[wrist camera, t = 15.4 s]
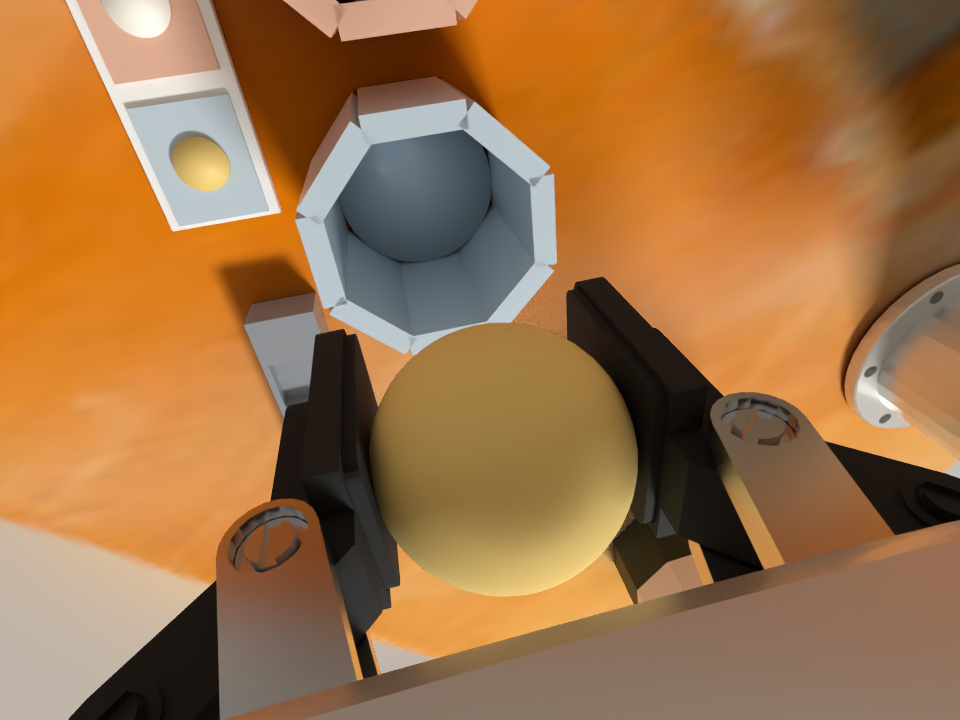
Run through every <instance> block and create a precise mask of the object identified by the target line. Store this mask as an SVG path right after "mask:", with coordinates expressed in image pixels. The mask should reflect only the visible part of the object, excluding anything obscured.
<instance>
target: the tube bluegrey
mask: <svg viewBox="0 0 960 720" xmlns="http://www.w3.org/2000/svg"><path fill="white" fill-rule="evenodd" d="M357 94H358V97H357V96H356V95H355V94H353V93H352V92H351V94H350V95H349V97H348V99H347V101H346V102H345V104H344V106H343V107H342V109H341V111H340V112H339V114H338V116H337V117H336V119H335V121H334V122H333V124H332V126H331V128H330V129H329V131H328V133H327V134H326V136H325V138H324V139H323V141H322V143H321V144H320V146H319V148H318V149H317V151H316V153H315V155H314V156H313V158H312V160H311V163H310V167H309V170H308V173H307V176H306V180H305V183H304V186H303V189H302V193H301V196H300V199H299V203H298V206H297V209H296V211H297V215H296V218H295V221H296V224H297V227H298V230H299V233H300V236H301V239H302V243H303V246H304V249H305V252H306V255H307V258H308V261H309V264H310V267H311V271H312V274H313V277H314V280H315V283H316V286H317V289H318V292H319V295H320V298H321V302H322V305H323V308H329V307H330V308H329V315H331V316H333V317H335V318H337V319H338V320H340V321H342V322H344V323H346V324H348V325H350V326H352V327H354V328H356V329H357V330H359V331H361V332H363V333H365V334H367V335H369V336H371V337H373V338H375V339H376V340H378V341H380V342H382V343H384V344H386V345H388V346H390V347H392V348H394V349H395V350H397V351H399V352H401V353H403V354H406V353H407V351H408V350H409V349H410V348H411V351H412V356H413V355H416V354H417V353H419V352H420V351H421V350H422V349H423V348H425V347H426V346H428V345H429V344H431V343H432V342H434V341H436V340H437V339H439V338H441V337H443V336H445V335H447V334H450V333H452V332H455V331H457V330H460V329H463V328H467V327H470V326H474V325H480V324H487V323H511V322H512V320H513V319H514V318H515V317H516V316H517V314H518V313H519V312H520V311H521V310H522V309H523V307H524V306H525V305H526V304H527V303H528V301H529V300H530V299H531V298H532V297H533V295H534V294H535V293H536V292H537V291H538V289H539V288H540V287H541V286H542V285H543V284H544V282H545V281H546V280H547V279H548V278H549V276H550V275H551V274H552V273H553V272H554V270H553V268H552V267H551V266H550V265H552V264H557V251H556V222H555V192H554V174H553V173H552V172H551V171H549V170H548V169H549V168H550V166H549V165H548V164H547V163H546V162H544V161H543V160H542V159H541V158H540V157H539V156H538V155H536V154H535V153H534V152H533V151H532V150H531V149H529V148H528V147H527V146H526V145H525V144H524V143H522V142H521V141H520V140H519V139H518V138H517V137H515V136H514V135H513V134H512V133H511V132H510V131H508V130H507V129H506V128H505V127H504V126H503V125H501V124H500V123H499V122H498V121H497V120H496V119H495V118H493V117H492V116H491V115H490V114H489V113H488V112H486V111H485V110H484V109H483V108H482V107H481V106H479V105H478V104H477V103H476V102H475V101H473V100H472V99H471V98H469V97H468V96H466V95H465V94H463V93H462V92H461V91H459V90H458V89H456V88H455V87H454V86H452V85H451V84H449V83H448V82H446V81H445V80H444V79H441V80H440V79H438V78H437V77H436V76H433V77H427V78H420V79H414V80H407V81H401V82H394V83H387V84H381V85H374V86H368V87H361V88H357ZM481 145H483V146H484V147H485V148H486V152H487V157H486V154H485V152H484V150H483V148H482V146H481ZM490 198H491V200H492V205H491V206H490V207H489V202H490ZM488 207H489V209H488ZM487 209H488V210H487ZM344 215H345V216H344ZM345 217H346V219H347V222H348V223H349V225H350V226H351V228H352V229H353V231H354V232H355V233H356V234H357V235H358V236H357V235H356V234H354V233H352V232H351V231H349V230H348V227H347V223H346V219H345ZM458 248H459V249H458ZM457 249H458V250H457ZM456 250H457V251H456ZM454 251H456V252H454ZM396 259H397V260H401V261H402V262H399V261H397V260H396Z"/></svg>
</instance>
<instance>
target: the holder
mask: <svg viewBox="0 0 960 720" xmlns="http://www.w3.org/2000/svg"><path fill="white" fill-rule="evenodd" d="M244 327H245V329H246V332H247V334H248V336H249V339H250V341H251V343H252V346H253V348H254V350H255V353H256V355H257V357H258V360H259V362H260V364H261V367H262V369H263V371H264V374H265V376H266V378H267V381H268V383H269V385H270V388H271V390H272V392H273V395H274V397H275V399H276V402H277V404H278V406H279V409H280V411H281V413H282V416H283V418H284V416H285V411H286V408H287V406H289V405H292V404H297V403H302V402H306V401H308V397H309V388H310V379H311V370H312V360H313V351H314V342H315V335H316V334H321V333H326V332H329V331H328V328H327V325H326V321H325V318H324V315H323V312H322V309H321V306H320V303H319V300H318V297H317V294H316V292H313V293H308V294H302V295H297V296H292V297H287V298H281V299H276V300H271V301H266V302H260V303H255V304H251V306H250V309H249V311H248V314H247V317H246V320H245V322H244Z"/></svg>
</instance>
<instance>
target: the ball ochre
mask: <svg viewBox="0 0 960 720" xmlns="http://www.w3.org/2000/svg"><path fill="white" fill-rule="evenodd" d="M369 462H370V472H371V477H372V482H373V487H374V493H375V498H376V501H377V505H378V508H379V512H380V514H381V516H382V519H383V521H384V523H385V525H386V526H387V528H388V530H389V532H390V533H391V535H392V536H393V538H394V539H395V541H396V542H397V543H398V544H399V546H400V547H401V548H402V549H403V550H404V552H405V553H406V554H407V555H408V556H409V557H410V558H411V559H412V560H413V561H414V562H416V563H417V564H418V565H419V566H420V567H422V568H423V569H424V570H426V571H427V572H428V573H430V574H431V575H433V576H434V577H436V578H438V579H440V580H442V581H444V582H446V583H448V584H450V585H452V586H454V587H457V588H460V589H463V590H466V591H470V592H473V593H478V594H482V595H490V596H518V595H526V594H532V593H536V592H540V591H543V590H547V589H549V588H552V587H555V586H557V585H559V584H561V583H563V582H565V581H567V580H569V579H571V578H572V577H574V576H575V575H577V574H578V573H580V572H581V571H583V570H584V569H585V568H586V567H588V566H589V565H590V564H591V563H593V562H594V561H595V560H596V559H597V558H598V557H599V556H600V555H601V554H602V553H603V552H604V551H605V549H606V548H607V547H608V546H609V544H610V543H611V541H612V540H613V539H614V537H615V536H616V534H617V533H618V531H619V530H620V528H621V526H622V524H623V522H624V520H625V518H626V515H627V513H628V511H629V508H630V505H631V502H632V499H633V495H634V491H635V486H636V480H637V474H638V448H637V442H636V436H635V430H634V425H633V422H632V419H631V416H630V413H629V411H628V408H627V406H626V403H625V401H624V398H623V397H622V395H621V393H620V392H619V390H618V388H617V387H616V385H615V383H614V382H613V380H612V379H611V377H610V376H609V375H608V374H607V373H606V371H605V370H604V369H603V368H602V367H601V366H600V365H599V364H598V363H597V362H596V360H595V359H594V358H592V357H591V356H590V355H589V354H587V353H586V352H585V351H583V350H582V349H581V348H579V347H578V346H577V345H576V344H574V343H572V342H571V341H569V340H567V339H565V338H563V337H562V336H559V335H557V334H555V333H552V332H550V331H547V330H544V329H542V328H538V327H534V326H529V325H524V324H516V323H487V324H480V325H474V326H470V327H467V328H463V329H460V330H457V331H455V332H452V333H450V334H447V335H445V336H443V337H441V338H439V339H437V340H436V341H434V342H432V343H431V344H429V345H428V346H426V347H425V348H423V349H422V350H421V351H420V352H419V353H417V354H416V355H415V356H414V357H413V358H412V359H411V360H410V361H409V362H408V363H407V364H406V365H405V366H404V367H403V368H402V369H401V370H400V372H399V373H398V374H397V375H396V376H395V378H394V379H393V381H392V382H391V384H390V385H389V387H388V389H387V391H386V392H385V394H384V396H383V398H382V400H381V403H380V405H379V407H378V409H377V412H376V416H375V419H374V423H373V426H372V430H371V436H370V443H369Z"/></svg>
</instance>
